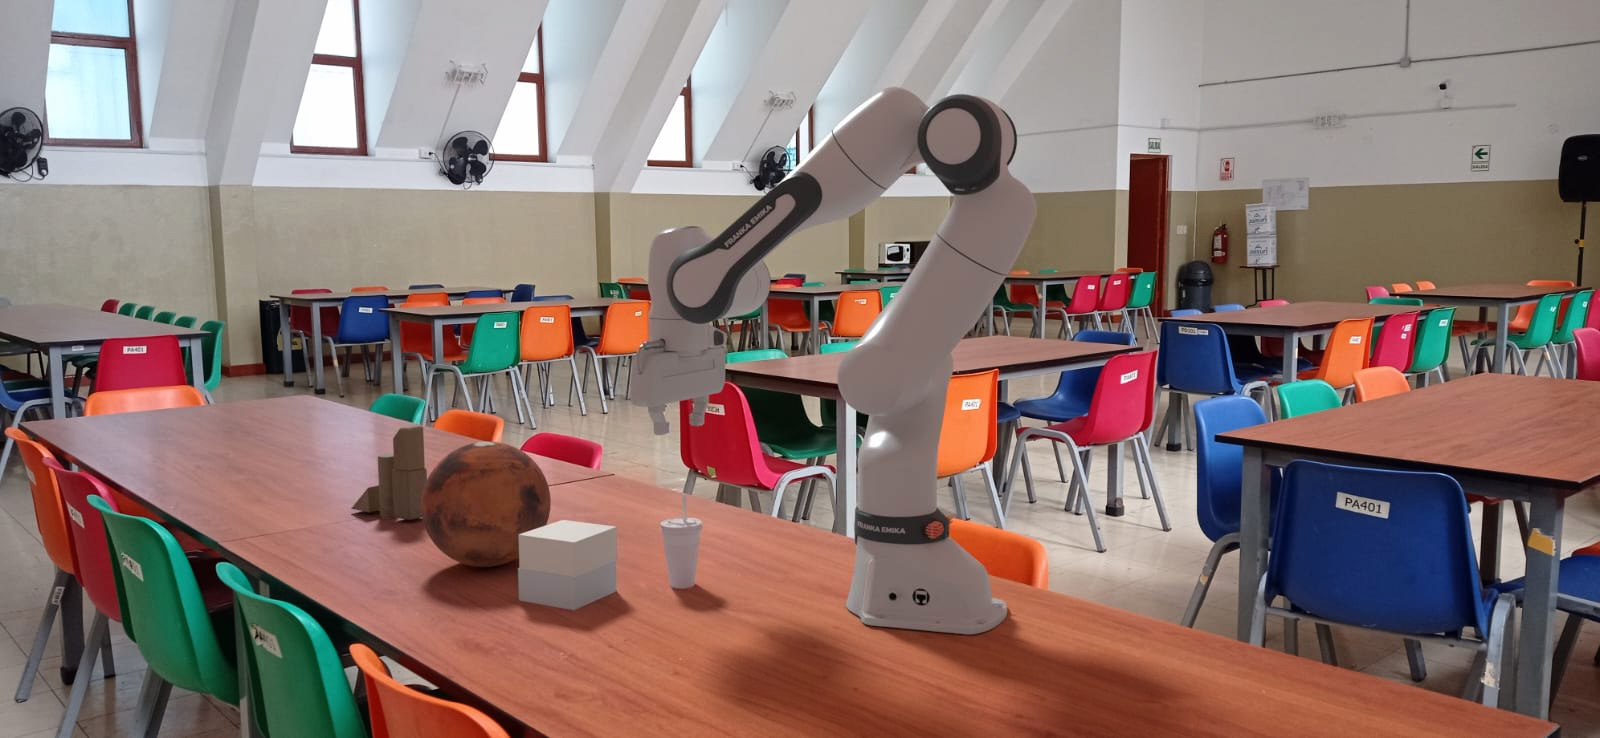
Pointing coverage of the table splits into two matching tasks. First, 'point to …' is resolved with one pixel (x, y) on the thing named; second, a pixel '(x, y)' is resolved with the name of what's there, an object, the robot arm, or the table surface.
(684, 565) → the smoothie
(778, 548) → the table surface
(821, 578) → the table surface
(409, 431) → the wooden block set
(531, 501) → the planet model
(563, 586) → the tower base block
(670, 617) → the table surface
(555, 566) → the tower top block
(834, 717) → the table surface
